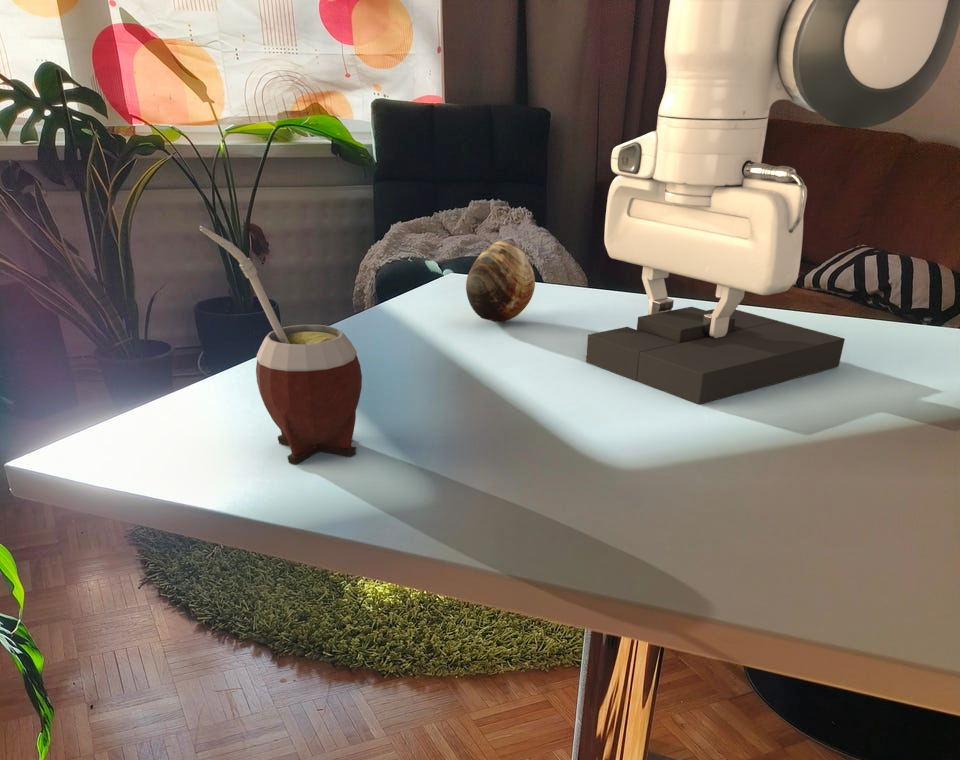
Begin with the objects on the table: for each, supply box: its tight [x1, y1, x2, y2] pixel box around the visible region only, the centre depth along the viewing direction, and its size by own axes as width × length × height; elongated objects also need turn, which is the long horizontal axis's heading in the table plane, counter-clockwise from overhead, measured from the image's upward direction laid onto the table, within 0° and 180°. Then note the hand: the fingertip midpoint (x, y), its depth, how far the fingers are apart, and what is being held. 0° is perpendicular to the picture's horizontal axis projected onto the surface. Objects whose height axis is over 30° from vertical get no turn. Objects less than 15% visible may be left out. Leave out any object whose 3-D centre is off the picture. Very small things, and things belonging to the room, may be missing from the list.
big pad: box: [585, 308, 846, 405], centre depth 80 cm, size 18×14×2 cm
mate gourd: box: [199, 225, 363, 465], centre depth 59 cm, size 8×8×15 cm
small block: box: [636, 306, 735, 343], centre depth 82 cm, size 7×6×2 cm
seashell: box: [465, 236, 536, 323], centre depth 91 cm, size 10×6×8 cm, turn 143°
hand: (685, 327), depth 82 cm, fingers closed on small block, 5 cm apart
